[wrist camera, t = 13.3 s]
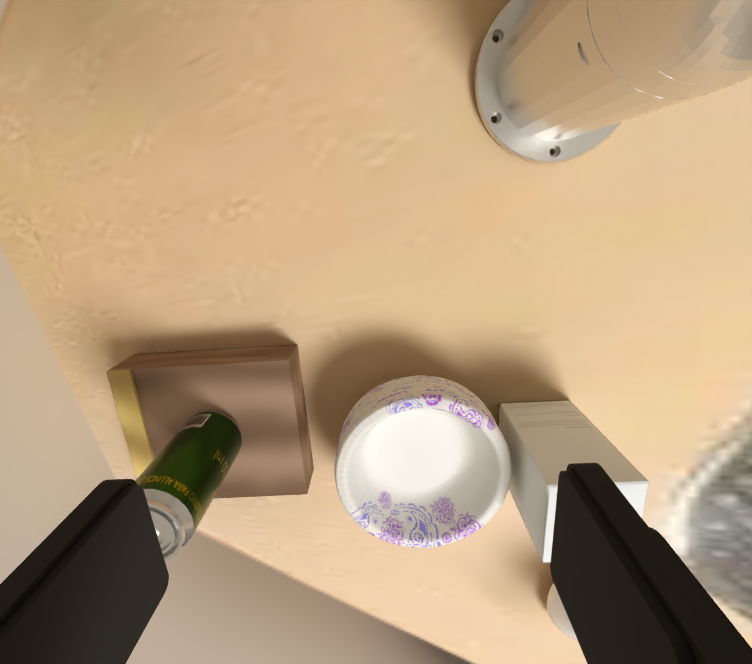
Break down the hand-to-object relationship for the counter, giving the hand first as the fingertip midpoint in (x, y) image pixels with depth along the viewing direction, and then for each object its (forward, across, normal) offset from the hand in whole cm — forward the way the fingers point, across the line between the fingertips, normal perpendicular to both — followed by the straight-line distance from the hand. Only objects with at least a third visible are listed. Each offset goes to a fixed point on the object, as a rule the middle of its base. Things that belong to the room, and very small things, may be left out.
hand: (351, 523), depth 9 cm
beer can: (+26, +16, +13) cm, 33 cm away
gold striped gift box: (+29, +16, +13) cm, 36 cm away
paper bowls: (+30, -3, +16) cm, 34 cm away
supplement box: (+30, -15, +17) cm, 38 cm away
